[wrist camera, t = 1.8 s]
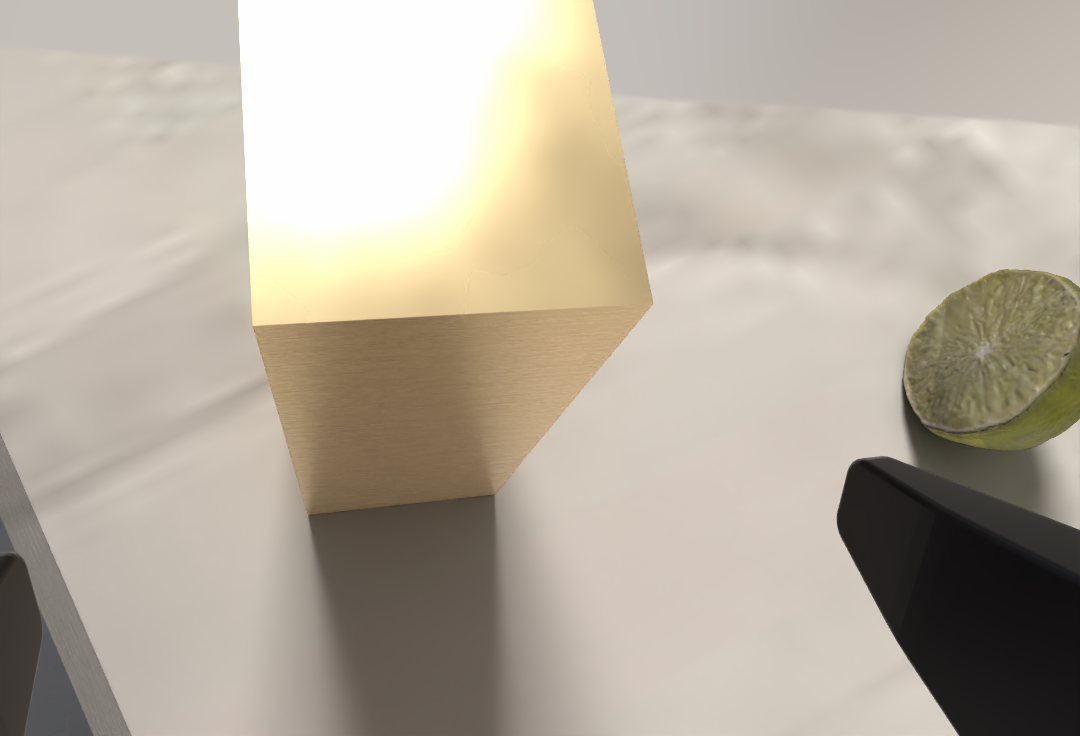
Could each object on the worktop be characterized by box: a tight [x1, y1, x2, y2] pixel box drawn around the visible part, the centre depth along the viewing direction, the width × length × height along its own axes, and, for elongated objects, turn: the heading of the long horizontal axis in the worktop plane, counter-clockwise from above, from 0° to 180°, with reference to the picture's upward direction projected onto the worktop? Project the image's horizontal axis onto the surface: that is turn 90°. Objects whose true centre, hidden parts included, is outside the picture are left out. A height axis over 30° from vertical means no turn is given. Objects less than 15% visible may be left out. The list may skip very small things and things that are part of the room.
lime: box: [903, 269, 1080, 451], centre depth 23 cm, size 4×5×5 cm
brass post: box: [239, 0, 653, 515], centre depth 16 cm, size 4×4×12 cm
